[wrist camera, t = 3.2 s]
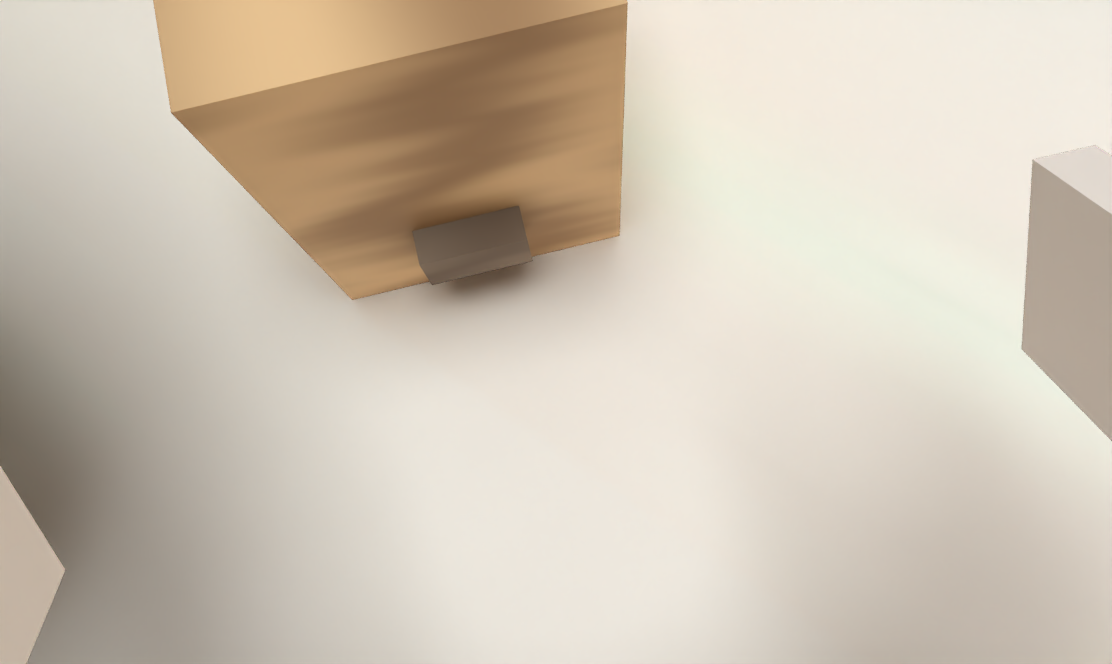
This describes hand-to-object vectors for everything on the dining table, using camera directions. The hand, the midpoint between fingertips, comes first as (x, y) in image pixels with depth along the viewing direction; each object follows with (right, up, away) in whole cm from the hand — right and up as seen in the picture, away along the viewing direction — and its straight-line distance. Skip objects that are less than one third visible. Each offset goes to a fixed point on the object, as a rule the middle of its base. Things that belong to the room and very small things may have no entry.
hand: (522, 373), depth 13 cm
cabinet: (-2, +5, +14) cm, 15 cm away
